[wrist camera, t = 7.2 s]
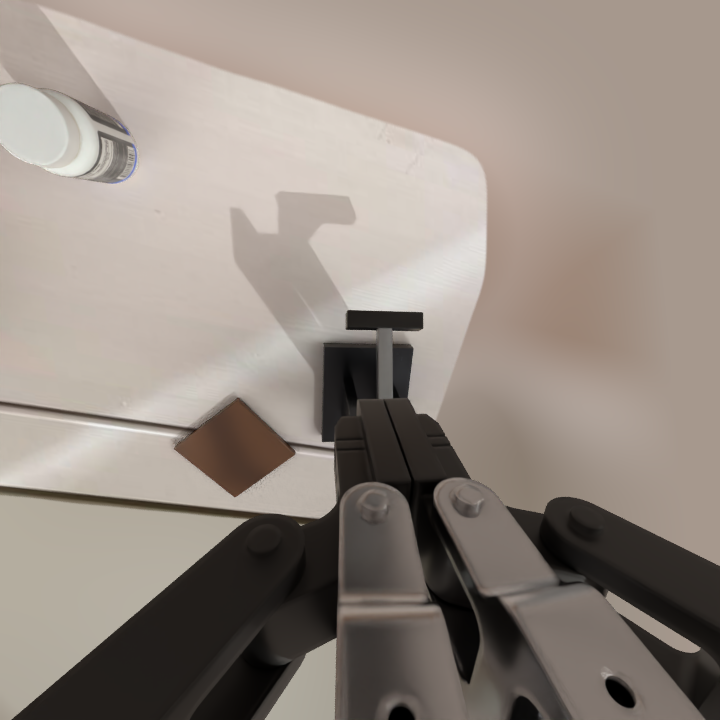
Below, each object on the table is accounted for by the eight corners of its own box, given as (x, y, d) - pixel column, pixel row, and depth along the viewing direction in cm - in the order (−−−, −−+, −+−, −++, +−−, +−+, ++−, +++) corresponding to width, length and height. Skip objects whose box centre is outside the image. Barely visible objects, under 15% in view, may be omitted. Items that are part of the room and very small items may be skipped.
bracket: (323, 342, 35) (328, 412, 23) (410, 344, 37) (461, 411, 24) (321, 435, 39) (324, 539, 27) (400, 434, 41) (438, 532, 28)
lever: (345, 314, 29) (347, 308, 26) (416, 316, 29) (425, 310, 27) (344, 478, 28) (347, 487, 25) (418, 476, 28) (427, 484, 26)
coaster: (238, 397, 37) (237, 400, 36) (295, 451, 40) (295, 454, 39) (175, 445, 38) (173, 448, 37) (236, 494, 41) (235, 497, 40)
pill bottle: (60, 127, 27) (-45, 90, 19) (117, 105, 26) (36, 58, 19) (98, 193, 28) (17, 183, 21) (152, 172, 28) (91, 155, 21)
